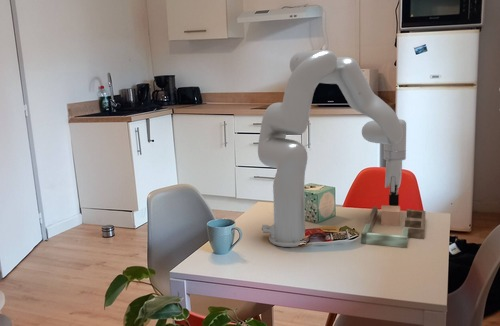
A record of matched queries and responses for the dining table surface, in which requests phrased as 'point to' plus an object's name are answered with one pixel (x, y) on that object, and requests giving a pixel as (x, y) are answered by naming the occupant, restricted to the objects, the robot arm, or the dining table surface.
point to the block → (390, 215)
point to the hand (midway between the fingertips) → (393, 205)
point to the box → (411, 230)
